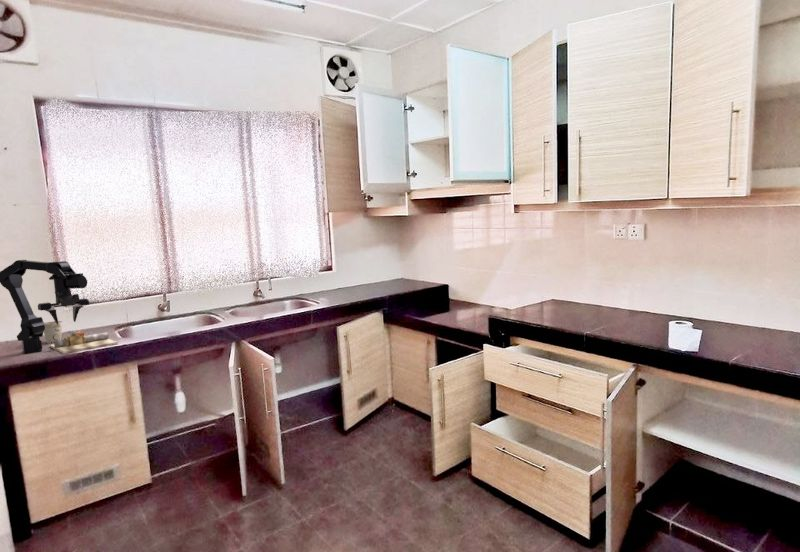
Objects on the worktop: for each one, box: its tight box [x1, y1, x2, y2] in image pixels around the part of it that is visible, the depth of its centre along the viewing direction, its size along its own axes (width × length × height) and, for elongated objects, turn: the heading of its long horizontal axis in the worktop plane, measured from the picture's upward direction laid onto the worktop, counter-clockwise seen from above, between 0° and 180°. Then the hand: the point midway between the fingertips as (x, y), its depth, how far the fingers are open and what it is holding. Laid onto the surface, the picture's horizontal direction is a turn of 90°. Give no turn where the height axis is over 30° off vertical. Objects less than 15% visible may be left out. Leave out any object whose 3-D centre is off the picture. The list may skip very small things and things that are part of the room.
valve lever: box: [70, 330, 85, 337], centre depth 228 cm, size 13×2×2 cm, turn 48°
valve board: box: [49, 331, 119, 354], centre depth 233 cm, size 22×24×5 cm
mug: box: [43, 320, 63, 344], centre depth 245 cm, size 8×13×10 cm, turn 61°
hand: (66, 322), depth 221 cm, fingers open, 6 cm apart
